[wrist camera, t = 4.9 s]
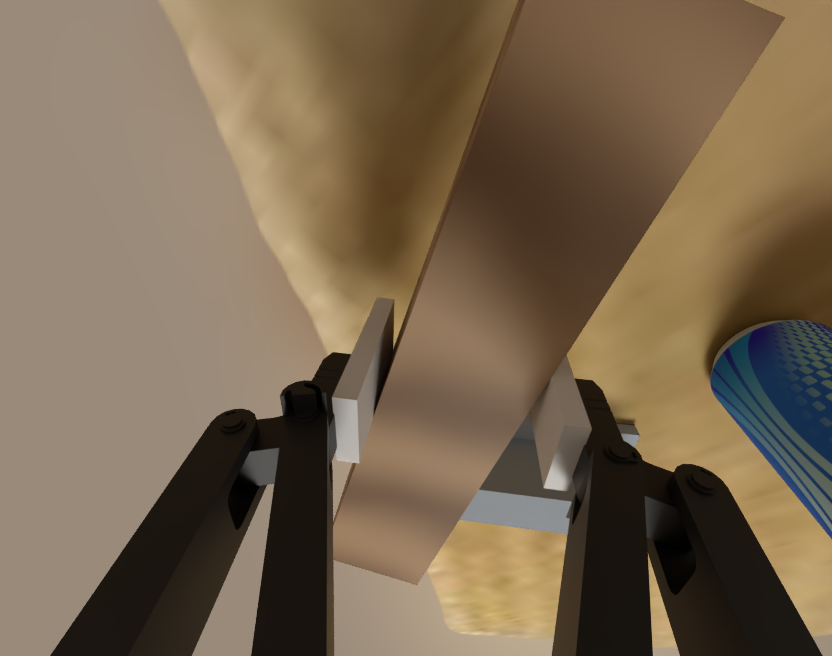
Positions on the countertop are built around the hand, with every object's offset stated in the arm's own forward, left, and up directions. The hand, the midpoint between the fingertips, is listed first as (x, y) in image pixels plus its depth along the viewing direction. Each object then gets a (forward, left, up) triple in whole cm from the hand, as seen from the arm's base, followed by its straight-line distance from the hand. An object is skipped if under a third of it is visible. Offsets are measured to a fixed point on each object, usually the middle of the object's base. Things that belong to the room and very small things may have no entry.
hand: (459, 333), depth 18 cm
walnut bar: (0, 0, -1) cm, 1 cm away
